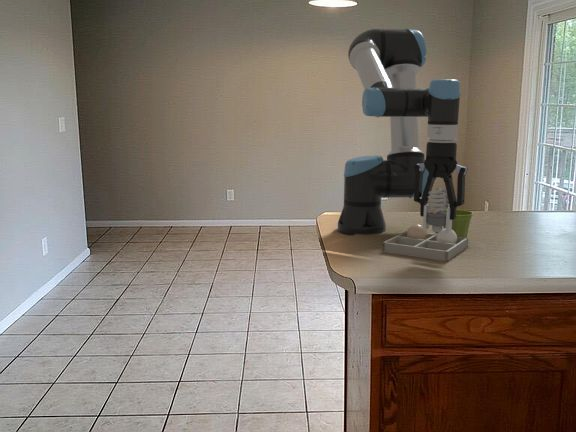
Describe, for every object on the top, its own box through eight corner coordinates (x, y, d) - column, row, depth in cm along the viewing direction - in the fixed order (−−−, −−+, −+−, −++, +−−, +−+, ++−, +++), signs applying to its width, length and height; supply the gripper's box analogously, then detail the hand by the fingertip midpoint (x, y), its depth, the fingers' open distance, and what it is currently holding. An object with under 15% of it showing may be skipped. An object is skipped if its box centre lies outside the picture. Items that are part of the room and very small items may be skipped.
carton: (382, 253, 162) (382, 242, 161) (407, 240, 176) (407, 230, 176) (446, 263, 152) (447, 251, 152) (467, 249, 167) (468, 238, 166)
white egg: (432, 248, 165) (433, 228, 164) (439, 244, 169) (440, 225, 168) (452, 251, 162) (454, 231, 161) (459, 247, 166) (460, 227, 165)
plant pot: (433, 241, 176) (434, 212, 174) (447, 235, 183) (448, 207, 181) (463, 246, 170) (465, 216, 168) (476, 240, 177) (478, 211, 175)
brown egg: (403, 244, 169) (404, 225, 168) (410, 240, 174) (411, 221, 173) (422, 247, 166) (423, 227, 165) (429, 243, 171) (430, 224, 170)
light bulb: (444, 236, 153) (446, 190, 151) (422, 233, 156) (425, 188, 154) (450, 232, 158) (453, 187, 156) (430, 230, 161) (432, 185, 159)
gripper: (402, 140, 154) (398, 228, 159) (473, 143, 145) (467, 237, 149) (413, 139, 161) (409, 223, 165) (482, 142, 151) (476, 231, 155)
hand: (437, 230), depth 157 cm, fingers closed on light bulb, 5 cm apart
